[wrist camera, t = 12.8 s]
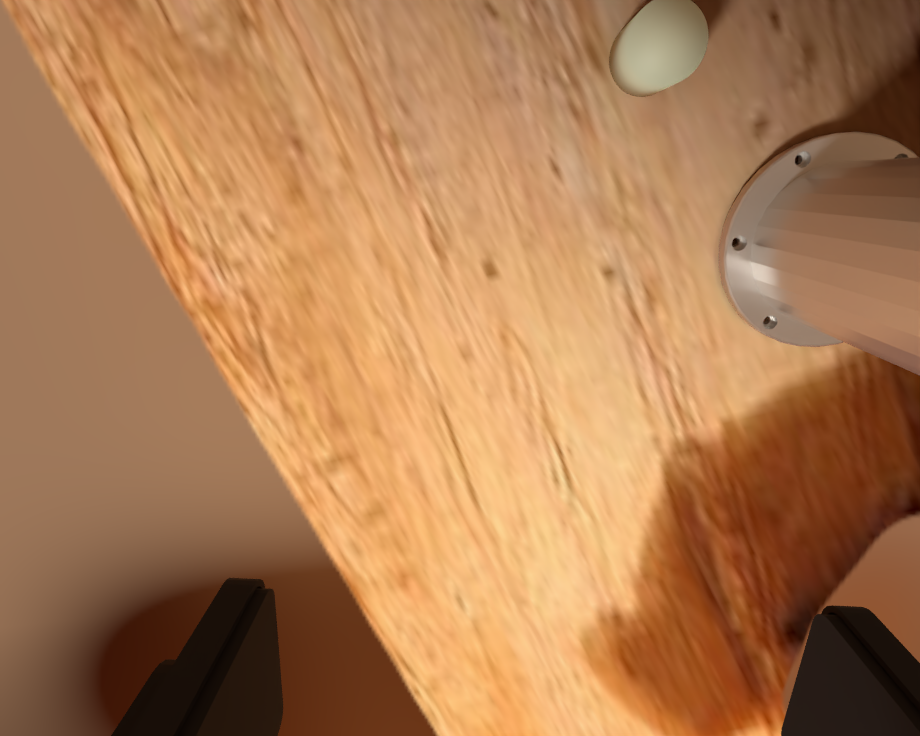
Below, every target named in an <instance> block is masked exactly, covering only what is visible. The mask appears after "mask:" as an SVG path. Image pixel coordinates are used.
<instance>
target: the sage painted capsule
mask: <svg viewBox="0 0 920 736" xmlns="http://www.w3.org/2000/svg"><path fill="white" fill-rule="evenodd" d="M707 44H708V26H707V22H706V19H705V17H704V14H703V13H702V11H701V9H700V8H699V7H698V6H697V5H696V4H695V3H694V2H692V1H691V0H653V1H651V2H650V3H648V4H647V5H646V6H645V7H643V8H642V9H641V10H640V11H639V13H638V14H637V15H636V16H635V17H634V18H633V19H632V20H631V21H630V22H629V23H628V24H627V25H626V26H625V27H624V28H623V29H622V30H621V31H620V33H619V34H618V35H617V37H616V38H615V40H614V42H613V45H612V47H611V51H610V57H609V65H610V71H611V75H612V77H613V79H614V81H615V83H616V84H617V85H618V87H619V88H620V89H622V90H623V91H624V92H626V93H627V94H630V95H633V96H638V97H645V96H650V95H653V94H656V93H658V92H660V91H662V90H664V89H666V88H668V87H670V86H672V85H674V84H676V83H678V82H680V81H682V80H684V79H685V78H687V77H688V76H689V75H691V74H692V73H693V72H694V71H695V70H696V68H697V67H698V66H699V64H700V63H701V61H702V59H703V57H704V55H705V52H706V49H707Z"/></svg>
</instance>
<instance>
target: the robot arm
mask: <svg viewBox="0 0 920 736" xmlns="http://www.w3.org/2000/svg"><path fill="white" fill-rule="evenodd" d="M796 156H797V157H798V162H797V163H796V164H795V158H796ZM734 238H736V239H737V242H736V244H735V245H734V246H732V241H733V239H734ZM719 271H720V276H721V282H722V286H723V288H724V290H725V293H726V295H727V298H728V300H729V302H730V303H731V305H732V306H733V308H734V309H735V311H736V312H737V313H738V315H739V316H740V317H741V318H742V319H743V320H745V321H746V322H747V323H748V324H749V325H750V326H751V327H753V328H754V329H756V330H758V331H759V332H761V333H763V334H764V335H766V336H768V337H771V338H773V339H775V340H777V341H780V342H783V343H787V344H792V345H796V346H810V347H820V346H827V345H834V344H839V343H842V342H845V343H848V344H850V345H852V346H854V347H857V348H859V349H861V350H863V351H866V352H868V353H870V354H872V355H875V356H877V357H879V358H882V359H884V360H886V361H888V362H891V363H893V364H895V365H897V366H900V367H902V368H904V369H906V370H909V371H911V372H913V373H916V374H918V375H920V157H918V156H917V155H916V154H915V153H914V152H913V151H912V150H910V149H908V148H907V147H905V146H904V145H902V144H901V143H899V142H898V141H895V140H893V139H890V138H887V137H884V136H882V135H879V134H872V133H864V132H845V133H834V134H829V135H823V136H818V137H814V138H812V139H809V140H806V141H804V142H801V143H798V144H796V145H794V146H792V147H790V148H789V149H787V150H785V151H783V152H782V153H780V154H778V155H776V156H775V157H774V158H773V159H771V160H770V161H769V162H768V163H767V164H765V165H764V166H763V167H762V168H760V169H759V170H758V171H757V172H756V173H755V174H754V176H753V177H752V178H751V179H750V180H749V181H748V183H747V184H746V185H745V186H744V187H743V188H742V190H741V192H740V193H739V195H738V197H737V198H736V200H735V201H734V203H733V205H732V206H731V209H730V211H729V213H728V216H727V218H726V221H725V223H724V226H723V230H722V235H721V239H720V244H719ZM766 317H767V320H766V321H765V322H763V321H764V319H765V318H766ZM282 714H283V698H282V685H281V673H280V659H279V647H278V634H277V621H276V609H275V595H274V591H273V590H272V589H265V586H264V582H263V580H260V579H239V578H229V579H227V580H226V581H225V582H224V584H223V585H222V587H221V588H220V590H219V591H218V593H217V595H216V596H215V598H214V600H213V601H212V603H211V604H210V606H209V608H208V609H207V611H206V613H205V614H204V616H203V617H202V619H201V621H200V622H199V624H198V625H197V627H196V629H195V630H194V632H193V634H192V635H191V637H190V638H189V640H188V642H187V643H186V645H185V646H184V648H183V650H182V651H181V653H180V654H179V656H178V658H177V659H176V660H165V661H163V662H162V663H160V664H159V665H158V666H157V668H156V669H155V670H154V671H153V673H152V674H151V676H150V677H149V679H148V680H147V682H146V683H145V685H144V686H143V688H142V690H141V691H140V693H139V694H138V696H137V697H136V699H135V700H134V702H133V703H132V705H131V706H130V708H129V710H128V711H127V712H126V714H125V716H124V717H123V719H122V720H121V722H120V723H119V725H118V726H117V728H116V729H115V731H114V732H113V734H112V735H111V736H277V735H278V732H279V729H280V725H281V721H282ZM781 736H920V663H919V662H918V661H917V660H916V659H915V658H914V657H913V656H912V655H911V653H910V652H909V651H908V650H907V649H906V648H905V647H904V646H903V645H902V644H901V643H900V642H899V640H898V639H897V638H896V637H895V636H894V635H893V634H892V633H891V632H890V631H889V630H888V629H887V628H886V626H885V625H884V624H883V623H882V622H881V621H880V620H879V619H878V618H877V617H876V616H875V615H874V614H873V613H872V612H871V611H870V610H869V609H867V608H864V607H851V606H827V607H826V608H824V609H823V611H822V613H821V614H817V615H816V616H815V617H814V619H813V622H812V625H811V629H810V632H809V636H808V639H807V643H806V646H805V650H804V653H803V657H802V660H801V664H800V667H799V671H798V674H797V678H796V682H795V685H794V688H793V692H792V695H791V699H790V702H789V705H788V709H787V712H786V716H785V719H784V723H783V726H782V732H781Z"/></svg>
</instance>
